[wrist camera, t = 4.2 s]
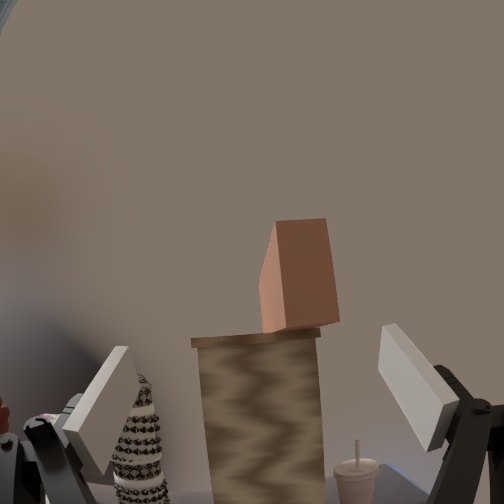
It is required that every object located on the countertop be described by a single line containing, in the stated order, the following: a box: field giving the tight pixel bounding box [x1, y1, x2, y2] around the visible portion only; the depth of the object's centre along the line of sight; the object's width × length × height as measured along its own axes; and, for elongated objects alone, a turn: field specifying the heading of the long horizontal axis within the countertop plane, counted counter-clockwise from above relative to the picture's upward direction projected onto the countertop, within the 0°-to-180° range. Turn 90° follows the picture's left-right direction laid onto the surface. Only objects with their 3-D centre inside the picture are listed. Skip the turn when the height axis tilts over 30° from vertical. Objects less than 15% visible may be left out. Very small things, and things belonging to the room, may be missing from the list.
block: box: [259, 219, 340, 333], centre depth 35 cm, size 4×24×8 cm, turn 2°
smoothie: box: [333, 440, 379, 504], centre depth 35 cm, size 6×6×14 cm
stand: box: [191, 327, 325, 504], centre depth 35 cm, size 13×15×30 cm
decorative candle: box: [110, 374, 170, 504], centre depth 40 cm, size 9×9×25 cm
